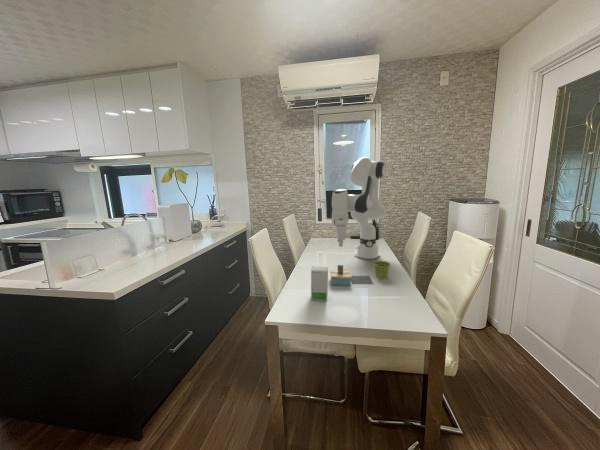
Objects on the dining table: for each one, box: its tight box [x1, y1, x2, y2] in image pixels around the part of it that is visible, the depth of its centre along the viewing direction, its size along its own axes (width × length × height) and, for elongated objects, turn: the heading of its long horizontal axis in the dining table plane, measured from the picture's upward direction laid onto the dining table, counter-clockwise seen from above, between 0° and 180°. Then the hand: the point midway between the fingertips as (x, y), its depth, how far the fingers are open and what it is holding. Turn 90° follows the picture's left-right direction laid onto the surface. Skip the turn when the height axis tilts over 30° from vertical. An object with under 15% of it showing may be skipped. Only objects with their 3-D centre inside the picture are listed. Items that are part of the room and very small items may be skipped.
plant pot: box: [373, 260, 391, 279], centre depth 148 cm, size 9×9×9 cm
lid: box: [329, 264, 353, 280], centre depth 142 cm, size 11×11×5 cm
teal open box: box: [330, 278, 351, 287], centre depth 143 cm, size 10×10×5 cm
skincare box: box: [310, 265, 329, 302], centre depth 125 cm, size 8×7×16 cm
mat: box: [350, 275, 374, 285], centre depth 145 cm, size 12×12×1 cm
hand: (339, 243), depth 139 cm, fingers open, 8 cm apart
